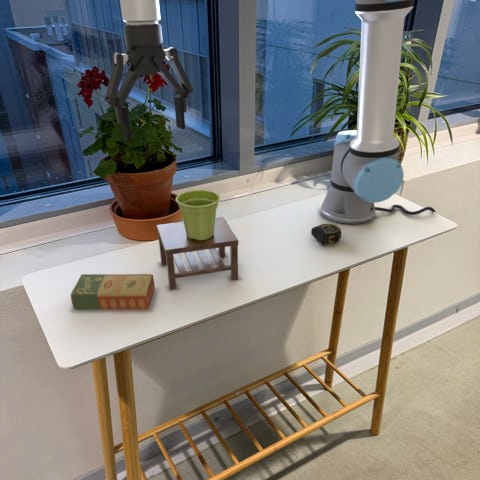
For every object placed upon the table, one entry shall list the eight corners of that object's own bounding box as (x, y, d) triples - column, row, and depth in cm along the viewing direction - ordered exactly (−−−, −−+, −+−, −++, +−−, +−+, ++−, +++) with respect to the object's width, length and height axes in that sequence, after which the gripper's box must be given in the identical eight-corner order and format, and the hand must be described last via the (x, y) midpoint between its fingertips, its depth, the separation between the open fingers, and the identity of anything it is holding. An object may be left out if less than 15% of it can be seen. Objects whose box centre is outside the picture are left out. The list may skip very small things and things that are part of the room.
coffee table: (224, 253, 122) (223, 216, 116) (238, 279, 112) (238, 240, 106) (160, 262, 118) (156, 224, 112) (169, 290, 108) (165, 250, 102)
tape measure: (309, 237, 129) (310, 224, 127) (332, 234, 131) (334, 221, 129) (320, 249, 124) (322, 235, 122) (344, 245, 125) (346, 231, 123)
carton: (149, 310, 102) (146, 293, 99) (73, 310, 102) (68, 293, 99) (155, 289, 108) (153, 272, 106) (83, 289, 109) (80, 272, 106)
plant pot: (173, 230, 110) (170, 193, 105) (212, 223, 113) (211, 187, 108) (186, 247, 103) (183, 209, 98) (227, 239, 106) (226, 202, 101)
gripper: (185, 18, 105) (193, 120, 118) (75, 26, 94) (96, 139, 106) (204, 19, 100) (210, 126, 113) (89, 28, 89) (110, 147, 101)
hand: (154, 133), depth 109 cm, fingers open, 13 cm apart
